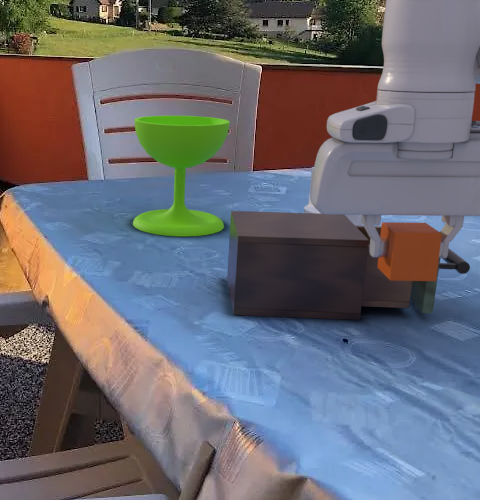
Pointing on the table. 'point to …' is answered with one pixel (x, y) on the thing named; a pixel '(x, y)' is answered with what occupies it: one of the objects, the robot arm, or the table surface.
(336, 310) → the cabinet
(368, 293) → the drawer
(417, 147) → the robot arm
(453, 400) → the table surface
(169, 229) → the wineglass
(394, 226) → the burnt orange cube
